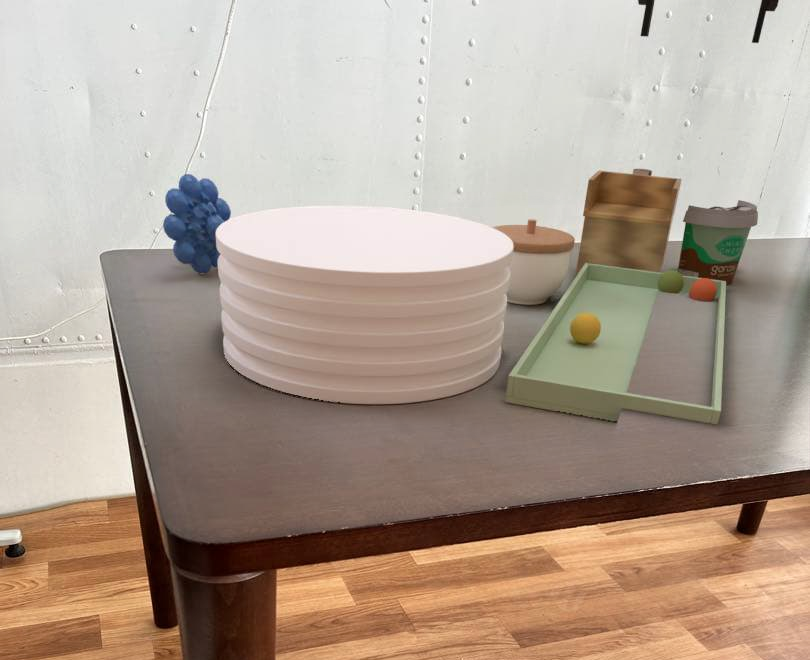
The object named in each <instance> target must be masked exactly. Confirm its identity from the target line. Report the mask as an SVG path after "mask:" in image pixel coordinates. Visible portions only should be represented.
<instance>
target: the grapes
mask: <svg viewBox="0 0 810 660" xmlns="http://www.w3.org/2000/svg"><path fill="white" fill-rule="evenodd" d="M164 198H165V200H164V202H165V206H166V207H167V208H168V211H169V212H170V214H168V215H167V216H165V218H164V220H163V221H162V222H163V223H162V228H163V231H164V233H165V235H166V236H167V237H168V238H169V239H171V240H172V241H175V242H174V243H173V247H172V252H173V255H174V257H175V258H176V260H177V261H178V262H180V263H182V264H183V265H190V267H191V268H192V269H193V271H194V272H196V273H198V274H199V273H205V274H207V273H208V272H210V271H211V269H212V267H213V268H218V258H219V256H220V253H219V252H218V250H217V247H216V230H217V228H218V227H219V226H220V225H221V224H222V223H224V222H225V221H227V220H229V219H231V216H232V215H231V214H232V210H231V208H230V205H229V204H228V203H227V201H226V200H224V199H223V198H221V197H219V190H218V186H217V185H216V183H214V181H213V180H211V179H209V178H204V177H203V178H201V179H198V178H197V177H196V176H194V175H193V174H192V173H191V174H190V173H185V174H183V175H181V177H180V178H179V181H178V188H170V189H169V190H167V192H166V194H165V197H164ZM171 213H172V214H171Z"/></svg>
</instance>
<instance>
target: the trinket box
mask: <svg viewBox="0 0 810 660" xmlns="http://www.w3.org/2000/svg"><path fill="white" fill-rule="evenodd" d="M537 222H538V221H537V219H534V218H532V219H531V218H528V219H527V224H502V225H497V226H496V225H495V226H493V227H492V228H494V229H496V230H498V231H500V232H502V233H504V234H505V235H507V236H508V237H509V238H510V239H511V240H512V242H513V245H514V248H513V257H512V261H511V263H510V265H509V266H508V268H509V270H510V282H509V288H508V291H507V292H506V296H507V303H511V304H515V305H521V306H522V305H524V306H535V305H542V304H545V303H546V302H547V301H548V298H550V297H551V296H553V295H554V294H555V293H556V292H557V291H558V290H559V288H561V286H562V285H563V282H564V281H565V279H566V277H567V274H568V272H569V268H570V264H571V260H572V259H571V258H572V255H573V254H572V253H573V249H574V246H575V240H576V239H575V237H574V236H573V235H572V234H570V233H569V232H566V231H564V230H561V229H558V228H557V229H556V228H552V227H546V226H540V225H537Z"/></svg>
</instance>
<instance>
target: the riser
mask: <svg viewBox="0 0 810 660" xmlns="http://www.w3.org/2000/svg"><path fill="white" fill-rule="evenodd" d="M583 219H584V220H583V225H582V232H581V238H580V243H579V251H578V256H577V262H576V269H575V275H574V277H576V276H577V275H578V273H579V272H580V270H581V269H582V268H583V266H584V265H585V263H589V264H598V265H605V266H613V267H621V268H628V269H636V270H644V271H651V272H659V273H663V272H662V270H663V267H664V262H665V257H666V254H667V249H668V244H669V239H670V234H671V229H672V225H673V220H674V218H673V219H672V221H671V224H670V226H664V225H656V224H647V223H638V222H630V221H621V220H612V219H604V218H595V217H587V216H584V218H583Z"/></svg>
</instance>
